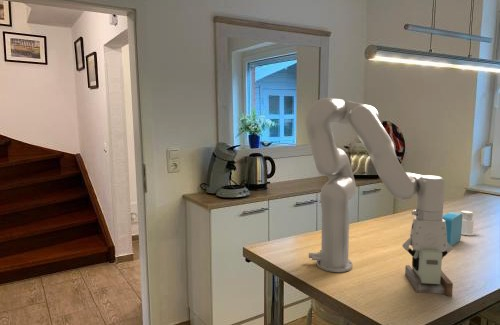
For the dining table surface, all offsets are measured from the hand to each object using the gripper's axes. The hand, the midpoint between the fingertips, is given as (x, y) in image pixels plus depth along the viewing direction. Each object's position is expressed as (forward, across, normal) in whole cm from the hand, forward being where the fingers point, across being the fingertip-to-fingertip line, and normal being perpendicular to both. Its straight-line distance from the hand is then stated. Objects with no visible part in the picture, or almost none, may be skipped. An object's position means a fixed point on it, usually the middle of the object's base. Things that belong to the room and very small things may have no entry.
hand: (426, 268), depth 122 cm
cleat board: (+5, 0, +2) cm, 5 cm away
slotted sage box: (+3, 0, 0) cm, 3 cm away
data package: (+5, +22, +41) cm, 47 cm away
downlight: (+5, +33, +54) cm, 63 cm away
